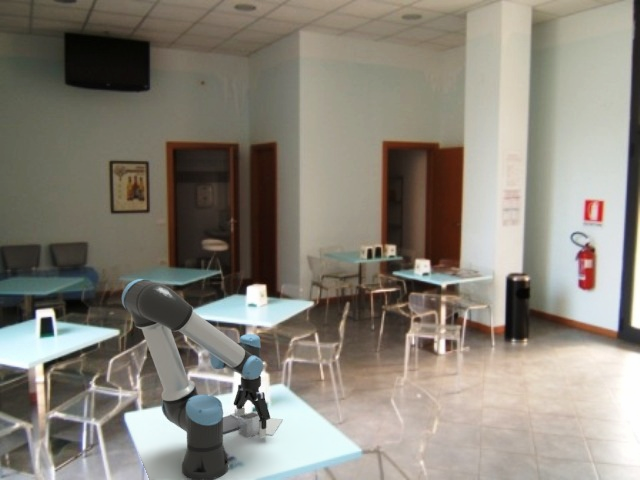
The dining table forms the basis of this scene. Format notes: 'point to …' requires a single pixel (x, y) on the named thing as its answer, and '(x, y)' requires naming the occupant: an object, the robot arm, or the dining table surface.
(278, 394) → the dining table surface
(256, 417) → the block
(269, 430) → the smartphone
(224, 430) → the grey knobbed plate
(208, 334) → the robot arm
